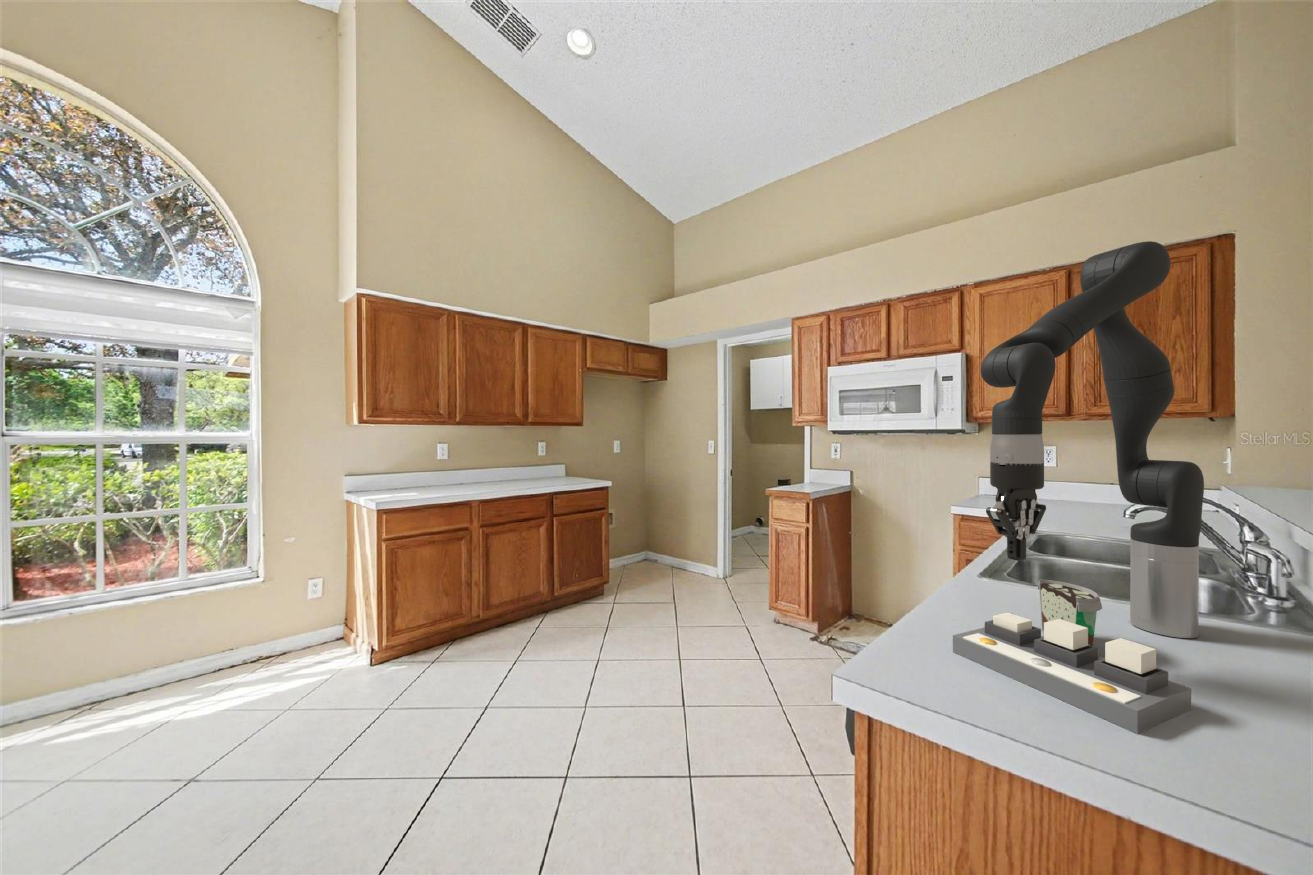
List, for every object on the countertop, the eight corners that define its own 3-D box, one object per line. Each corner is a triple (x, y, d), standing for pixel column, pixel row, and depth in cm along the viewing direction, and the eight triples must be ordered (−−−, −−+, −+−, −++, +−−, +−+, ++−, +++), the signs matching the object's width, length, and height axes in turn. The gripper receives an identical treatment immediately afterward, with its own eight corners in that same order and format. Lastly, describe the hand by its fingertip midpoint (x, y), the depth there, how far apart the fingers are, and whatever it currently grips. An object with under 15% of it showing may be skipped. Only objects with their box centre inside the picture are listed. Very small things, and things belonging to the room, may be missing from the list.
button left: (1007, 627, 86) (1007, 612, 86) (1031, 636, 83) (1031, 620, 83) (993, 631, 85) (993, 615, 85) (1017, 640, 81) (1017, 624, 81)
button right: (1120, 656, 72) (1120, 638, 72) (1156, 668, 68) (1156, 649, 68) (1105, 661, 70) (1105, 642, 70) (1141, 674, 66) (1141, 654, 66)
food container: (1120, 660, 81) (1120, 602, 81) (1079, 657, 82) (1079, 600, 82) (1073, 631, 93) (1073, 580, 93) (1037, 628, 94) (1037, 578, 94)
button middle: (1058, 635, 79) (1058, 618, 79) (1087, 645, 75) (1088, 628, 75) (1043, 639, 78) (1043, 622, 78) (1072, 650, 74) (1073, 632, 74)
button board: (1003, 638, 90) (1003, 612, 90) (1191, 709, 67) (1191, 674, 67) (952, 652, 85) (952, 624, 85) (1137, 734, 62) (1137, 695, 61)
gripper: (1017, 458, 89) (1017, 550, 89) (969, 460, 84) (969, 558, 84) (1064, 460, 82) (1064, 560, 82) (1014, 463, 77) (1015, 569, 77)
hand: (1016, 559), depth 83 cm, fingers closed
